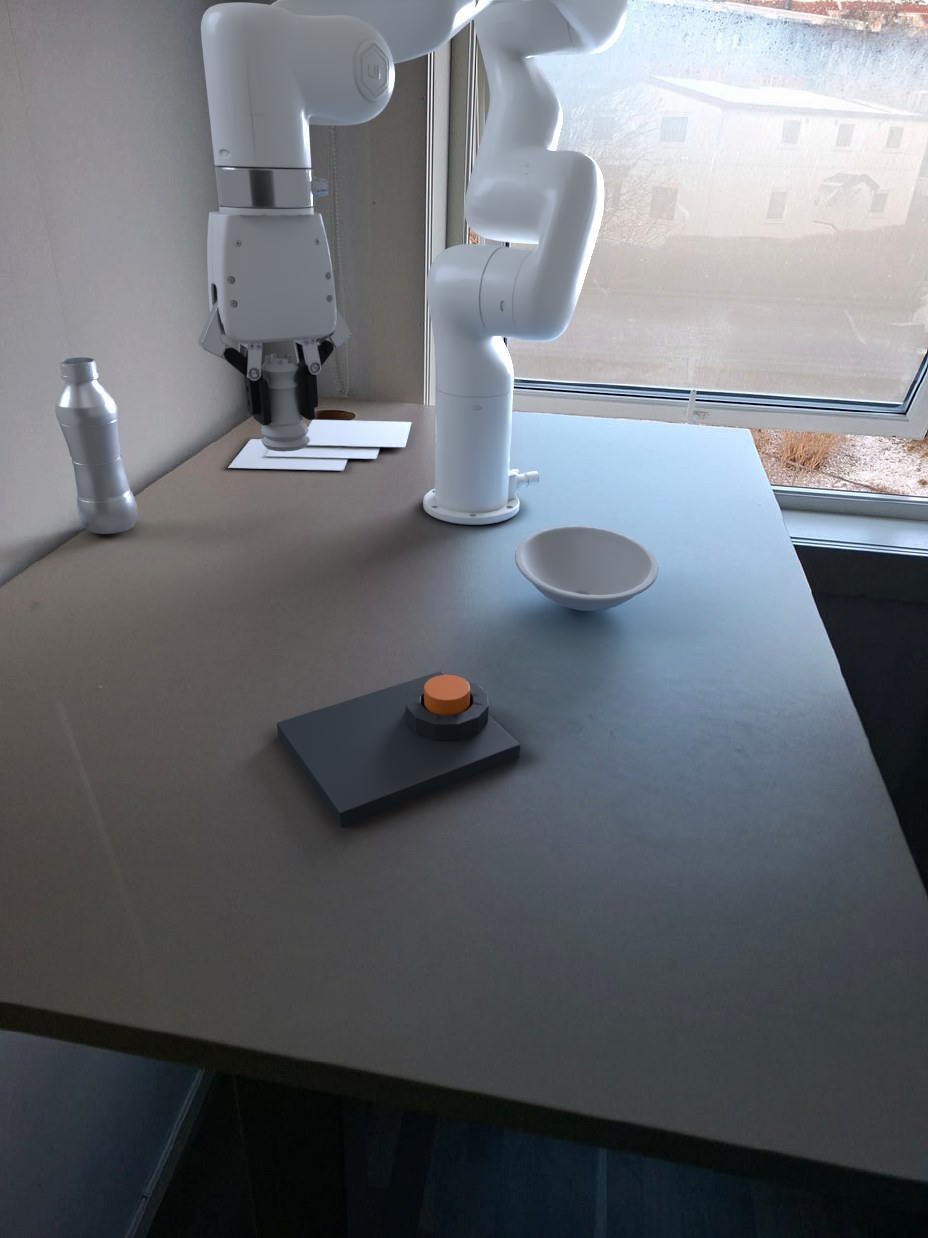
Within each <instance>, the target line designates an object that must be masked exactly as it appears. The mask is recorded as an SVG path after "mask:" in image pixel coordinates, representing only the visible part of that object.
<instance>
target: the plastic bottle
mask: <svg viewBox="0 0 928 1238" xmlns="http://www.w3.org/2000/svg"><path fill="white" fill-rule="evenodd" d="M59 369H60V379H61V380H62V381H64V385H63V387H62V388H61V390H60V392H59V394H58V396H57V399H56V401H55V407H54V413H55V416H56V419H57V421H58V424H59V427H60V430H61V432H62V435H63V437H64V440H65V442H66V445H67V449H68V452H69V457H70V458H71V463H72V466H73V472H74V480H75V487H76V494H77V495H76V510H77V515H78V517H79V520H80V522H81V524H82V525H83V527H84V528H85V529H86V530H88V532H90V533H92V534H97V535H98V534H99V535H112V534H118V533H122V532H125V531H128V530H130V529H132V528H133V527H134V526H135V524H136V522H137V520H138V505H137V501H136V499H135V496H134V494H133V491H132V490H131V487H130V484H129V480H128V477H127V474H126V470H125V466H124V462H123V456H122V454H121V452H122V449H121V448H122V447H121V442H120V426H119V423H120V422H119V411H118V410H119V409H118V405H117V402H116V401H115V399H114V398H113V396H112V395H111V394H110V393H109V391H107V389H106V388H104V386H103V385H102V384H100V382H98V381H99V380H98V378H100V374H99V373H100V372H99V371H98V366H97V361H96V359H95V358H92V357H84V356H83V357H69V358H64V359H61V360H59Z"/></svg>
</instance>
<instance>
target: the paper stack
mask: <svg viewBox="0 0 928 1238" xmlns="http://www.w3.org/2000/svg"><path fill="white" fill-rule="evenodd" d="M307 427H308V430H309V431H308V433H307V434H306V436H308V437H309V438H310V441H309V443H308V444H307V446H306V447H305V448H302V449H300V450H295V451H273V450H269V449H267V448H266V447H265V446H264V445H263V444H262V442H261V440H262V439H263V438H250V439H249V441H248V442H247V443H246V444H245V446H244V447H243V448H242V449H241V450H240V452H239V453H238V455H236V457H235V458H234V459H233V460H232V462H231V463H230V464H229V466H228V467H227V468H228V469H259V470H261V469H262V470H263V469H264V470H265V469H266V470H267V469H268V470H299V471H300V470H305V471H306V470H307V471H341V472H342V471H344V470H345V467H346V465H347V464H348V463H347V462H348V460H349V459H357V460H358V459H360V460H361V459H363V460H364V459H365V460H377V458H378V455H379V453H380V449H381V448H406V445H407V442H408V438H409V435H410V430H411V427H412V421H391V420H389V421H387V420H386V421H384V420H382V421H381V420H344V419H343V420H342V419H313V420H311V422H310V423H309V425H307Z"/></svg>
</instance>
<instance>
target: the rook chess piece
mask: <svg viewBox="0 0 928 1238" xmlns="http://www.w3.org/2000/svg"><path fill="white" fill-rule="evenodd" d="M297 370H298V366H297V363H296V362H295V360H294V355H293V354H288V355H287V353H280V358H277V354H276V353H270V354H269V355H267V354H266V355H265V356H264V362H263V364H262V365H261V371H262V373H263V374H265V376H266V378H267V379H266V380H267V382H268V388H269V399H270V411H271V423H270V424H269V425H266V426H263V425H261V429H260V432H261V434H262V436H264V437H263V438H261V439H262V440H261V442H262V444H263V445H264V446H265V447H266V448H267V449H269V450H273V451H295V450H300V449H302V448H305V447H306V446H307V444H308V443H309V441H310V438H309V437H308V436H306V434H307V433H308V431H309V430H308V424H307V423H306V422H305V421H304V417H303V416H301V415H300V413H299V410H298V405H297V400H296V394H295V388H296V386H297V383H296V382H295V381H294V375H295V373H296V371H297Z"/></svg>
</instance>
